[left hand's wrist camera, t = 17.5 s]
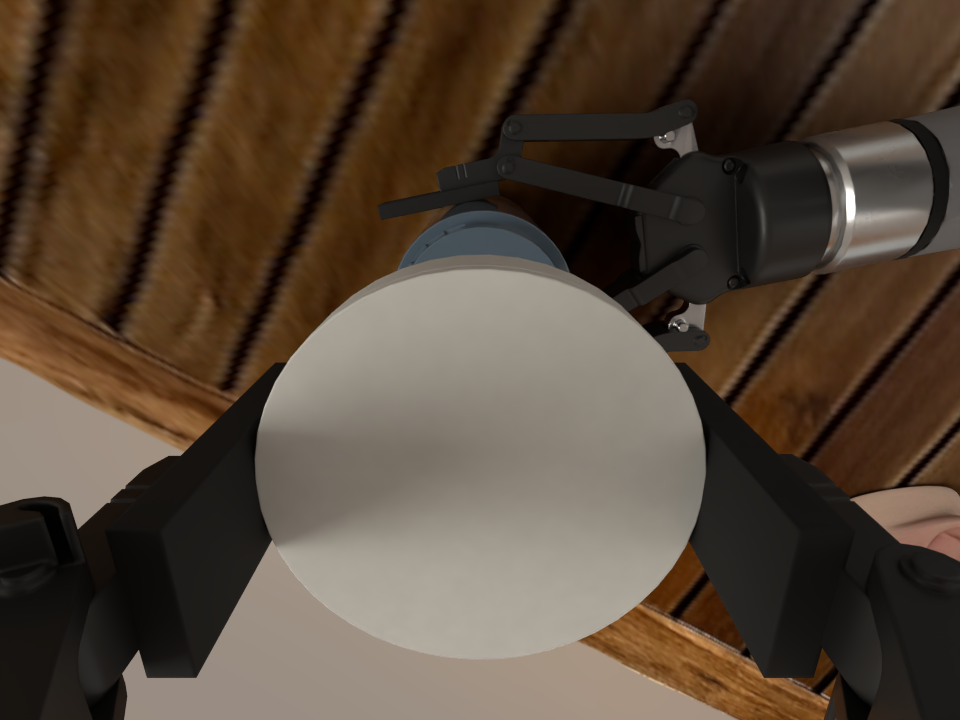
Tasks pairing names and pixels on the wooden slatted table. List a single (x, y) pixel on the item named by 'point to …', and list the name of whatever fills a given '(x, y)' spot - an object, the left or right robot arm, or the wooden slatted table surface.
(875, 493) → the anatomical model
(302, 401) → the lid
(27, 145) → the wooden slatted table surface
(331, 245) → the wooden slatted table surface
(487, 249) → the jar
